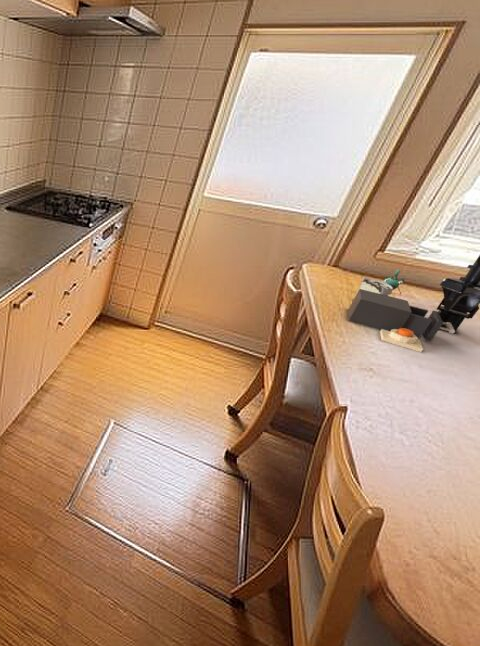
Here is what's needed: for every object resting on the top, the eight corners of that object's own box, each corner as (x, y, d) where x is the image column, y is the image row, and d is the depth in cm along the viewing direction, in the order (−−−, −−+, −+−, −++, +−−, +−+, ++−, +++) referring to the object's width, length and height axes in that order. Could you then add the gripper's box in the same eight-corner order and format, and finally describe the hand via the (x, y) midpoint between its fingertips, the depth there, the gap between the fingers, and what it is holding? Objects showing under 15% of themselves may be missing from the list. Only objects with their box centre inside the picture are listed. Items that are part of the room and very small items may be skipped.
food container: (388, 315, 160) (402, 291, 156) (370, 312, 161) (384, 289, 157) (367, 301, 171) (380, 279, 167) (351, 299, 172) (363, 276, 168)
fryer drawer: (442, 333, 148) (454, 315, 144) (447, 346, 140) (461, 327, 136) (380, 316, 157) (390, 299, 153) (382, 327, 148) (393, 309, 145)
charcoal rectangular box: (394, 322, 155) (407, 300, 151) (397, 335, 146) (411, 312, 142) (347, 309, 162) (359, 288, 158) (348, 321, 153) (360, 299, 149)
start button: (410, 335, 141) (413, 330, 140) (411, 339, 139) (414, 334, 138) (396, 331, 143) (399, 326, 142) (397, 335, 141) (400, 330, 140)
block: (418, 342, 142) (423, 335, 141) (421, 352, 136) (426, 344, 135) (379, 331, 148) (384, 324, 146) (381, 340, 142) (386, 332, 140)
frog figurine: (390, 296, 178) (411, 265, 170) (397, 315, 165) (420, 283, 157) (362, 289, 182) (381, 259, 174) (366, 308, 170) (387, 276, 162)
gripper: (500, 274, 120) (466, 321, 127) (544, 276, 124) (509, 322, 131) (454, 260, 130) (424, 305, 137) (496, 263, 134) (466, 306, 141)
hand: (457, 310), depth 136 cm, fingers open, 9 cm apart
